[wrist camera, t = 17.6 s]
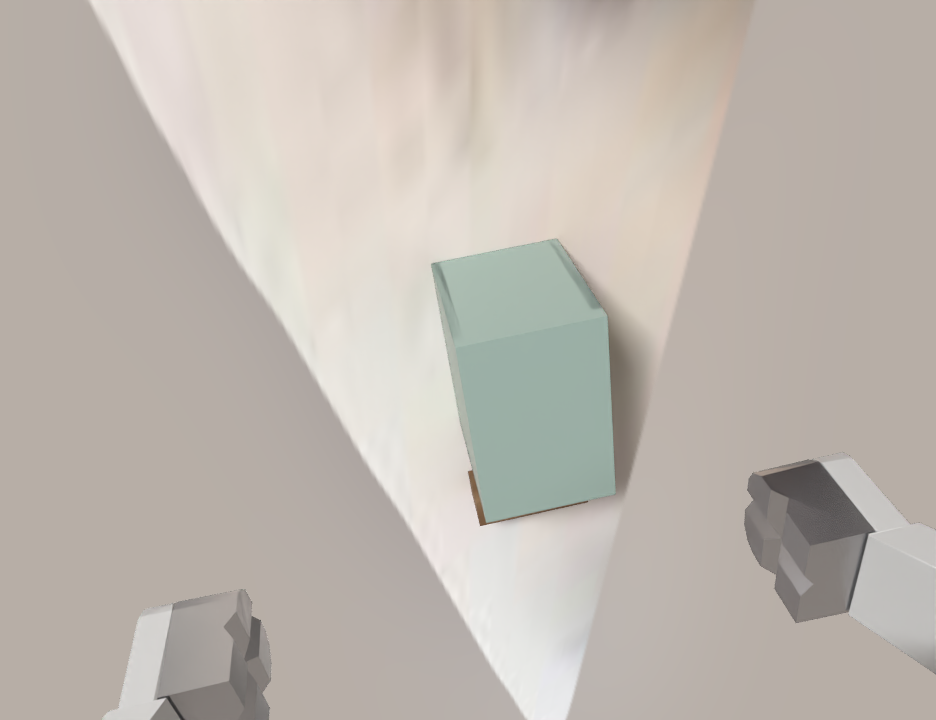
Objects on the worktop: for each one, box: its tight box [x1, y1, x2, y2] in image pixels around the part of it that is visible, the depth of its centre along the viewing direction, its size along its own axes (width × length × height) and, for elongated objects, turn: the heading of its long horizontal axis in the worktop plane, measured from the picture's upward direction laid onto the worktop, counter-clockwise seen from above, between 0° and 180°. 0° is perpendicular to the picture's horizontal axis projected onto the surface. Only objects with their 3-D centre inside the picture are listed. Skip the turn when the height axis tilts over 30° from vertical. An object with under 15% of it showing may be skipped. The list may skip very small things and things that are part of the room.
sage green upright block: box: [431, 239, 616, 523], centre depth 41 cm, size 11×7×9 cm, turn 8°
